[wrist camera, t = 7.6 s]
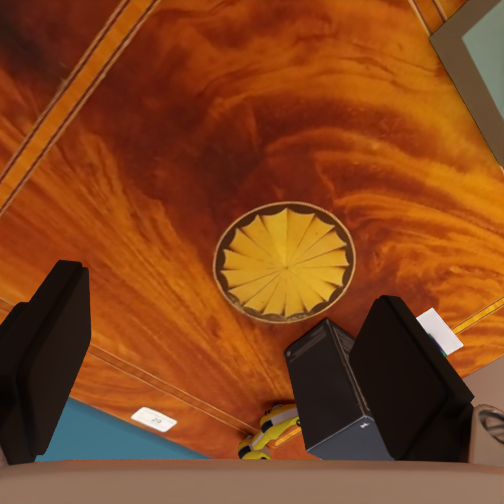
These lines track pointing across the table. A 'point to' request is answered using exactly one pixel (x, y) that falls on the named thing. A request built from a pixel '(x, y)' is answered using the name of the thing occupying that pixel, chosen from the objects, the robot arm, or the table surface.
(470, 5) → the panel
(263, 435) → the yellow hair dryer
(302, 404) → the small box
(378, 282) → the table surface
